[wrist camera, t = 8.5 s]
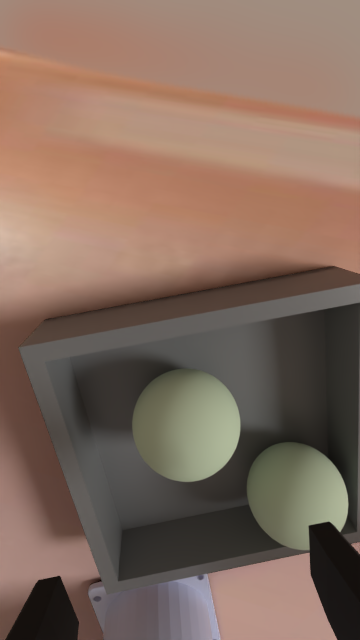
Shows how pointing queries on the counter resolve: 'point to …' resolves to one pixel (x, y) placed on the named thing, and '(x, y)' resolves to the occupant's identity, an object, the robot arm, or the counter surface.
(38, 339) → the charcoal tray
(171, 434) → the sage ball
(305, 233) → the counter surface
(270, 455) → the ball
